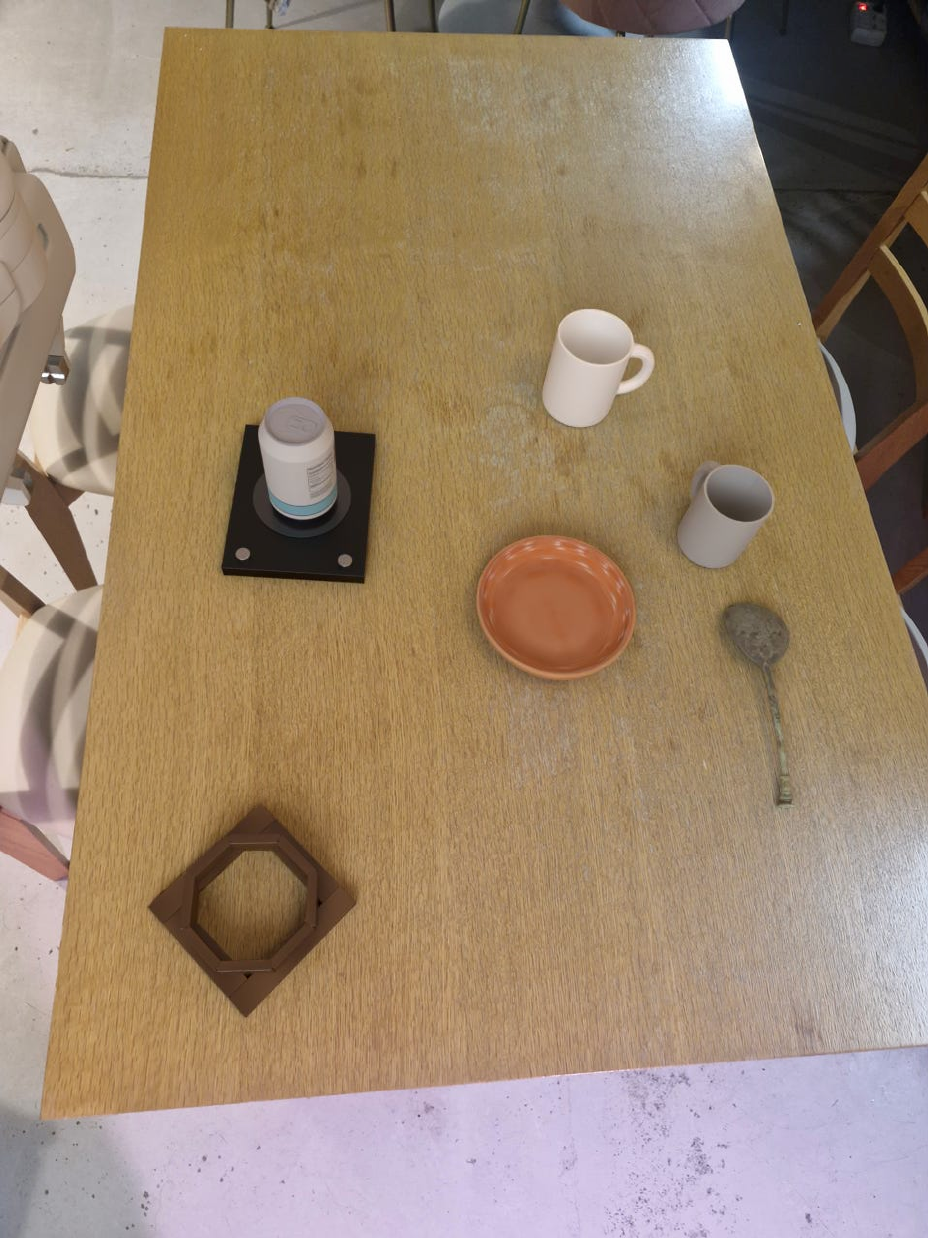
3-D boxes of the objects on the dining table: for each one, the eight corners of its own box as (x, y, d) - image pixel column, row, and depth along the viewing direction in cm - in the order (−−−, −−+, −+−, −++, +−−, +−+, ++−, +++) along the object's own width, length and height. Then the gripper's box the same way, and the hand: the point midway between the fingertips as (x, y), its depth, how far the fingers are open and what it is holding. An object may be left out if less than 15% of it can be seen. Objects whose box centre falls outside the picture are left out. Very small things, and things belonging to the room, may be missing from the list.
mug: (633, 374, 102) (658, 308, 93) (646, 429, 99) (675, 365, 90) (535, 375, 101) (552, 308, 92) (546, 430, 97) (564, 366, 88)
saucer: (444, 586, 87) (446, 571, 84) (572, 526, 91) (578, 510, 89) (528, 716, 81) (533, 705, 78) (659, 645, 86) (668, 632, 83)
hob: (364, 583, 86) (364, 573, 84) (223, 575, 85) (220, 564, 83) (375, 442, 94) (375, 429, 92) (247, 432, 93) (244, 420, 91)
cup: (690, 576, 90) (721, 530, 82) (655, 500, 94) (681, 449, 86) (751, 563, 92) (787, 516, 84) (713, 488, 96) (744, 437, 88)
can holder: (246, 1018, 67) (241, 1016, 64) (149, 908, 70) (140, 902, 67) (356, 903, 72) (356, 897, 69) (261, 805, 75) (257, 796, 72)
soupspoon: (775, 608, 90) (714, 606, 90) (787, 591, 87) (724, 589, 87) (816, 812, 79) (747, 810, 79) (832, 801, 76) (760, 799, 76)
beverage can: (288, 461, 90) (277, 381, 79) (348, 483, 89) (345, 406, 78) (258, 510, 87) (242, 434, 76) (320, 534, 86) (313, 461, 75)
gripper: (-63, 107, 45) (28, 308, 58) (-210, 403, 36) (-63, 568, 48) (59, 120, 46) (124, 317, 58) (-54, 415, 37) (51, 576, 49)
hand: (38, 433), depth 53 cm, fingers open, 8 cm apart
